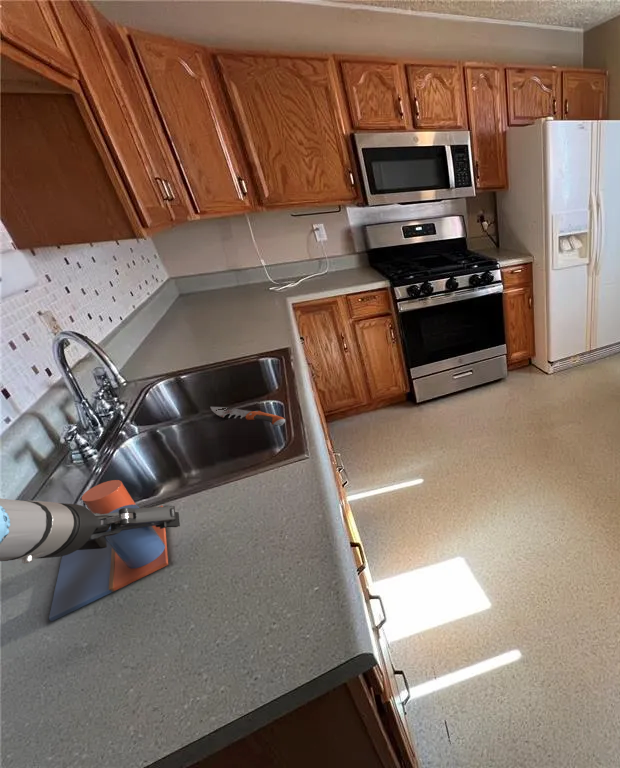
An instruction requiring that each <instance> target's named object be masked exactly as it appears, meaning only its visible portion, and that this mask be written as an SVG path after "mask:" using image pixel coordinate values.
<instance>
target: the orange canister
mask: <svg viewBox="0 0 620 768" xmlns="http://www.w3.org/2000/svg"><path fill="white" fill-rule="evenodd" d="M81 500H82V502H83V503H84V505H85V507H86V508H87V509H88V510H90V511H91V512H92V513H93V514H94V513H99V514H107V513H110V512H111V511H113V510H115V509H117V508H120V507H123V506H126V505H137V504H136V502H135V500H134V498H133V497H132V495H131V494H130V493H129V491H128V489H127V488H126V486H125V485H124V483H123V482H122V480H119V479H113V480H112V479H111V480H108V481H104V482H101V483H98V484H96V485H95V486H92V487H91V488H89V489H88V490H86V491H85V492H84V493H83V494H82V495H81Z"/></svg>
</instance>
